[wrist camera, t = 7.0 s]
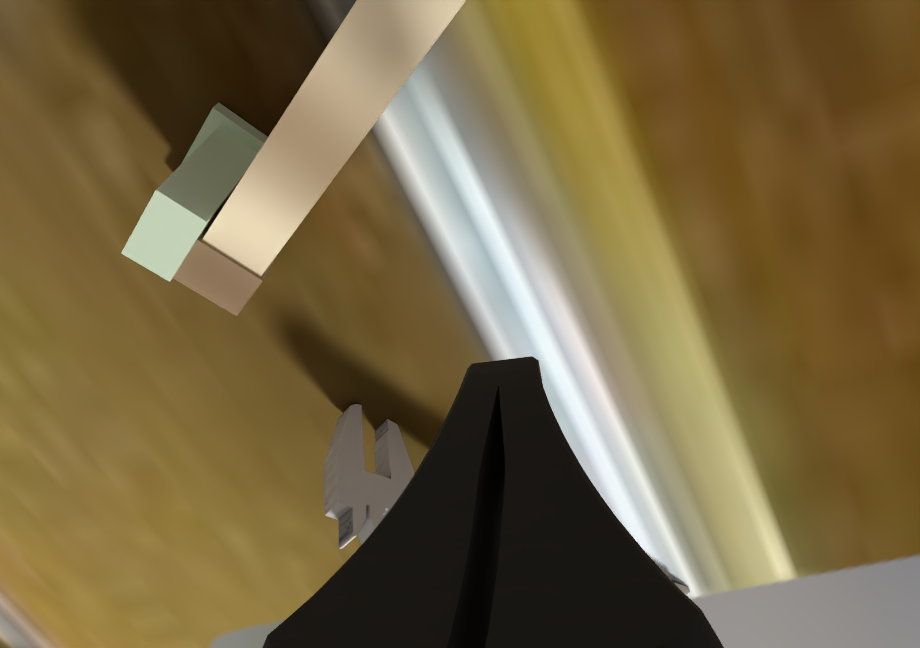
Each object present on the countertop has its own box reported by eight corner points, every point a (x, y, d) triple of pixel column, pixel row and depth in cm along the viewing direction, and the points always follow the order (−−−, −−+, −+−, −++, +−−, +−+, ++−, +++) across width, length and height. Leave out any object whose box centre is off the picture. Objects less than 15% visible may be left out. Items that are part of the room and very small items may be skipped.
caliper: (339, 408, 28) (303, 534, 23) (353, 394, 28) (318, 519, 23) (673, 591, 35) (700, 720, 30) (689, 582, 34) (720, 712, 29)
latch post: (218, 102, 20) (147, 168, 16) (281, 146, 21) (227, 220, 17) (176, 177, 22) (101, 254, 18) (235, 216, 23) (177, 298, 19)
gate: (429, -108, 16) (409, -92, 13) (491, -49, 17) (487, -20, 14) (224, 209, 22) (172, 277, 19) (276, 243, 23) (236, 316, 19)
